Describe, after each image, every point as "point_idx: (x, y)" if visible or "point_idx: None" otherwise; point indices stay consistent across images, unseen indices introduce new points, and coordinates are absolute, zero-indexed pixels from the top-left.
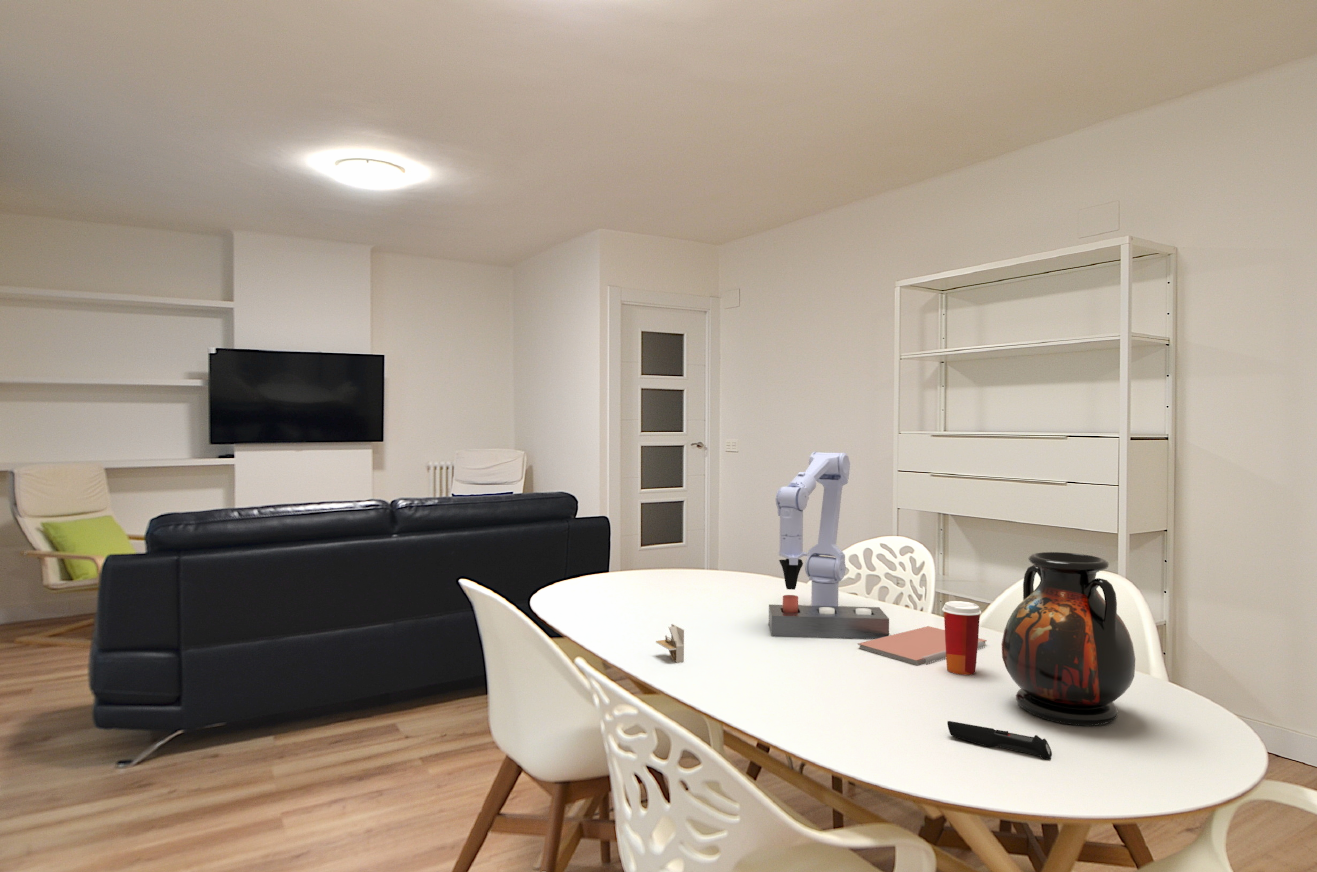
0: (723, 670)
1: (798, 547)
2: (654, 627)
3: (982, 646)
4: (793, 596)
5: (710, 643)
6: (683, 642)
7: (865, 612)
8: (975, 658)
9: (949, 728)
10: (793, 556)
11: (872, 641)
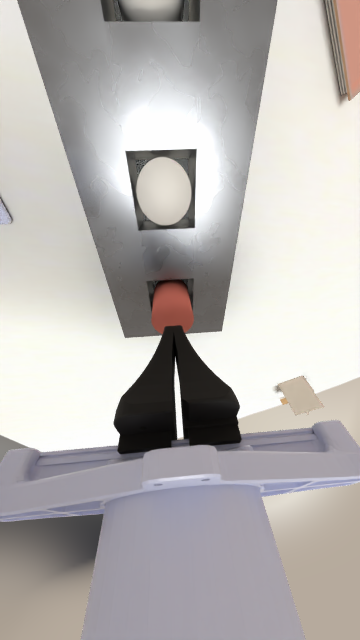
0: (346, 348)
1: (281, 572)
2: None
3: None
4: (170, 313)
5: (243, 365)
6: (314, 393)
7: None
8: None
9: None
10: (340, 482)
11: (355, 1)
